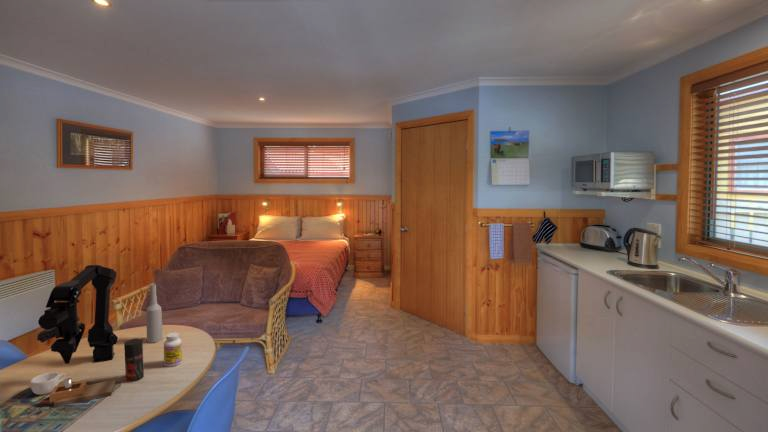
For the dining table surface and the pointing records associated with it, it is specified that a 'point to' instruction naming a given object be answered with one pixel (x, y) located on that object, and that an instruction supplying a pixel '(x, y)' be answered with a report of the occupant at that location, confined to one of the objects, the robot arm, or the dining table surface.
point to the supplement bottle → (172, 350)
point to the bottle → (154, 318)
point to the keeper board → (90, 393)
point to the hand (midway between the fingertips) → (70, 357)
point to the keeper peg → (68, 383)
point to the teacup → (45, 382)
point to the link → (68, 391)
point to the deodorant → (134, 360)
